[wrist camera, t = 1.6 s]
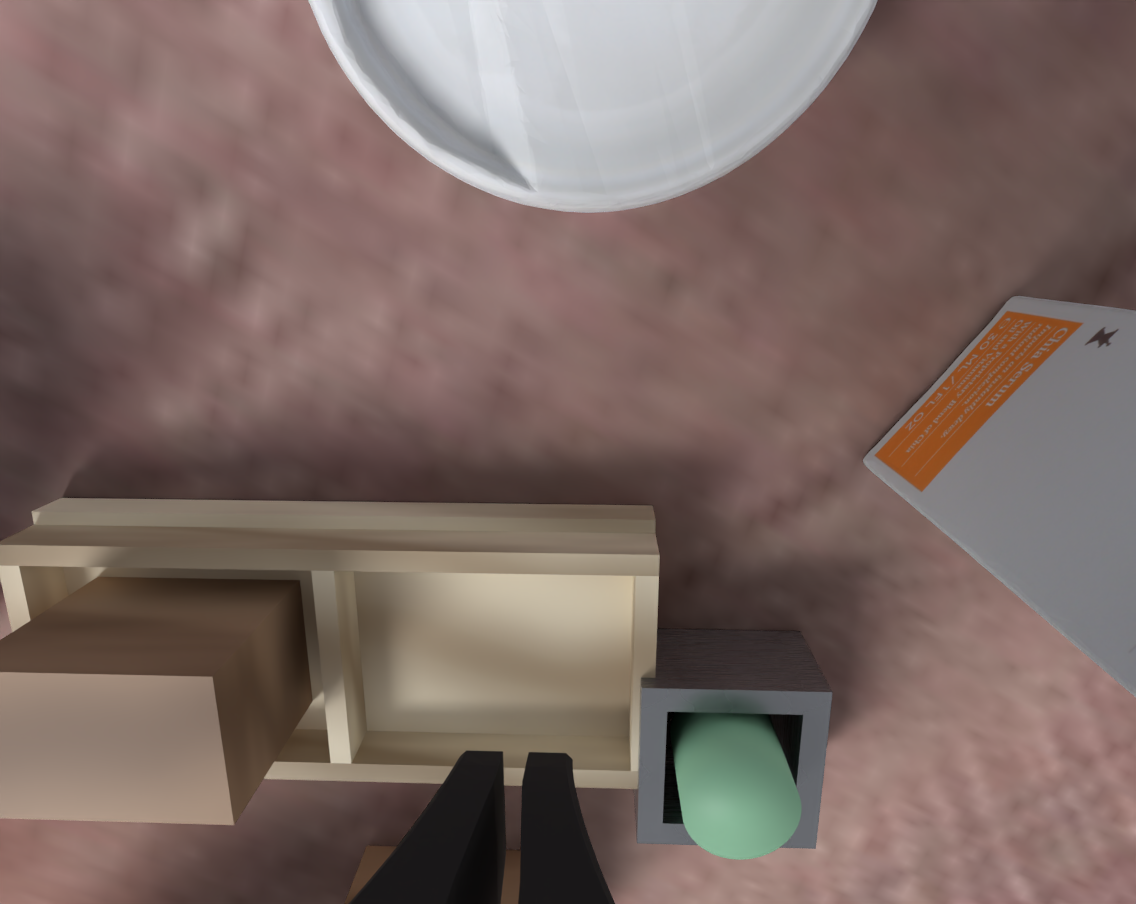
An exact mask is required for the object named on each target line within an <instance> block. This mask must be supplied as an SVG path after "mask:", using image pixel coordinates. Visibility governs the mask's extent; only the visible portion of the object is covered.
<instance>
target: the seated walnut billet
mask: <svg viewBox="0 0 1136 904" xmlns="http://www.w3.org/2000/svg"><path fill="white" fill-rule="evenodd" d="M312 701H313V699H312V690H311V680H310V671H309V661H308V652H307V642H306V633H305V624H304V614H303V605H302V595H301V586H300V580H262V579H202V578H143V577H97V578H95V579H94V580H92V581H91V582H89V583H87V584H86V585H84V586H83V587H81V588H80V589H78V590H77V591H75V592H74V593H72V594H71V595H69V596H67V597H66V598H64V599H63V600H61V601H60V602H58V603H57V604H55V605H54V606H52V607H51V608H49V609H48V610H46V611H44V612H43V613H41V614H40V615H38V616H37V617H35V618H34V619H32V620H31V621H29V622H28V623H26V624H24V625H23V626H21V627H20V628H18V629H17V630H15V631H14V632H12V633H11V634H9V635H8V636H6V637H5V638H3V639H1V640H0V818H10V819H44V820H77V821H111V822H145V823H178V824H212V825H234V824H235V823H236V821H237V820H238V818H239V817H240V815H241V813H242V812H243V810H244V809H245V807H246V805H247V804H248V802H249V801H250V799H251V798H252V796H253V794H254V793H255V791H256V790H257V788H258V787H259V785H260V783H261V782H262V780H263V779H264V777H265V775H266V774H267V772H268V771H269V769H270V768H271V766H272V764H273V763H274V761H275V760H276V758H277V757H278V755H279V753H280V752H281V750H282V749H283V747H284V745H285V744H286V742H287V741H288V739H289V738H290V736H291V734H292V733H293V731H294V730H295V728H296V727H297V725H298V723H299V722H300V720H301V719H302V717H303V715H304V714H305V712H306V711H307V709H308V708H309V706H310V704H311V703H312Z"/></svg>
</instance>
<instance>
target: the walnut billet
mask: <svg viewBox="0 0 1136 904" xmlns="http://www.w3.org/2000/svg"><path fill="white" fill-rule="evenodd" d="M395 849H396V846H366V849H365V852H364V854H363V857H362V859H361V862H360V864H359V867H358V870H357V872H356V875H355V877H354V880H353V883H352V885H351V888H350V890H349V893H348V896H347V898H346V901H345V903H344V904H348V903H349V902H350V901H351V900H352V899H353V898H354V897H355V896H356V895H357V894H358V892H359V891H360V890H361V889H362V888H363V887H364V886H365V884H366V883H367V882H368V881H369V880H370V878H371V877H372V876H373V875H374V874H375V872H376V871H377V870H378V869H379V868H380V867H381V865H382V864H383V863H384V862H385V861H386V859H387V858H388V857H389V856H390V855H391V853H392V852H393V851H394V850H395ZM520 858H521V850H506V859H505V868H504V878H503V887H502V896H501V904H518V899H519V887H520Z"/></svg>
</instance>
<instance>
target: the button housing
mask: <svg viewBox="0 0 1136 904" xmlns="http://www.w3.org/2000/svg"><path fill="white" fill-rule="evenodd" d="M831 702H832V690H831V689H830V687H829V685H828V683H827V681H826V679H825V677H824V675H823V673H822V672H821V670H820V668H819V666H818V664H817V662H816V660H815V658H814V657H813V655H812V653H811V651H810V649H809V647H808V645H807V643H806V642H805V640H804V638H803V636H802V634H801V632H800V631H752V630H700V629H657V645H656V674H655V678H641V681H640V715H639V749H638V783H637V789H633V790H634V805H635V820H636V835H637V843H646V844H679V845H698V844H697V843H696V842H695V841H694V840H693V839H692V838H691V836H690V835H689V834H688V832H687V830H686V828H685V825H684V823H683V818H682V811H681V805H680V798H679V791H678V785H677V778H676V771H675V765H674V758H673V751H672V749H666V729H667V712H704V713H747V714H770V718H771V720H772V723H773V726H774V728H775V731H776V734H777V736H778V739H779V742H780V744H781V747H782V750H783V753H784V755H785V758H786V761H787V763H788V766H789V769H790V771H791V774H792V777H793V780H794V782H795V785H796V788H797V790H798V793H799V796H800V800H801V817H800V821H799V824H798V826H797V828H796V830H795V832H794V833H793V835H792V836H791V837H790V839H789V840H788V841H787V842H786V843H784V844H783V845H782V846H781V847H779V848H812V849H816V840H817V831H818V822H819V813H820V803H821V794H822V785H823V776H824V766H825V757H826V748H827V739H828V729H829V720H830V711H831Z"/></svg>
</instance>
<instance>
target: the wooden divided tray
mask: <svg viewBox="0 0 1136 904" xmlns="http://www.w3.org/2000/svg"><path fill="white" fill-rule="evenodd" d="M32 517H33V522H34V525H32V526H30V527H28V528H26V529H24V530H22V531H20V532H18V533H16V534H14V535H12V536H10V537H8V538H6V539H4V540H2V541H0V580H1V584H2V589H3V593H4V598H5V602H6V607H7V611H8V616H9V620H10V625H11V629H12V632H14V631H15V630H17V629H18V628H20V627H21V626H23V625H24V624H26V623H28V622H29V621H31V620H32V619H34V618H35V617H37V616H38V615H40V614H41V613H43V612H44V611H46V610H48V609H49V608H51V607H52V606H54V605H55V604H57V603H58V602H60V601H61V600H63V599H64V598H66V597H67V596H69V595H71V594H72V593H74V592H75V591H77V590H78V589H80V588H81V587H83V586H84V585H86V584H87V583H89V582H91V581H92V580H94V579H95V578H97V577H143V578H202V579H262V580H300V586H301V595H302V605H303V614H304V624H305V633H306V642H307V652H308V661H309V671H310V680H311V690H312V699H313V701H312V703H311V704H310V706H309V708H308V709H307V711H306V712H305V714H304V715H303V717H302V719H301V720H300V722H299V723H298V725H297V727H296V728H295V730H294V731H293V733H292V734H291V736H290V738H289V739H288V741H287V742H286V744H285V745H284V747H283V749H282V750H281V752H280V753H279V755H278V757H277V758H276V760H275V761H274V763H273V764H272V766H271V768H270V769H269V771H268V772H267V774H266V775H265V777H264V779H285V780H321V781H358V782H395V783H431V784H443V782H444V781H445V779H446V778H447V776H448V775H449V773H450V772H451V770H452V768H453V767H454V765H455V763H456V762H457V760H458V758H459V757H460V756H461V755H462V754H463V753H464V752H465V751H466V750H469V751H503V763H504V785H505V786H522V780H523V776H524V771H525V766H526V762H527V757H528V753H529V752H547V753H567V754H568V755H569V756H570V757H571V758H572V759H573V776H574V783H575V787H578V788H615V789H637V783H638V749H639V715H640V681H641V678H655V674H656V645H657V617H658V589H659V560H660V554H659V549H658V544H657V539H656V534H655V527H656V519H655V514H654V510H653V505H576V504H497V503H419V502H340V501H261V500H182V499H103V498H60V499H58V500H56V501H53V502H51V503H49V504H47V505H45V506H42V507H40V508H38V509H36V510H34V511H32Z"/></svg>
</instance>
